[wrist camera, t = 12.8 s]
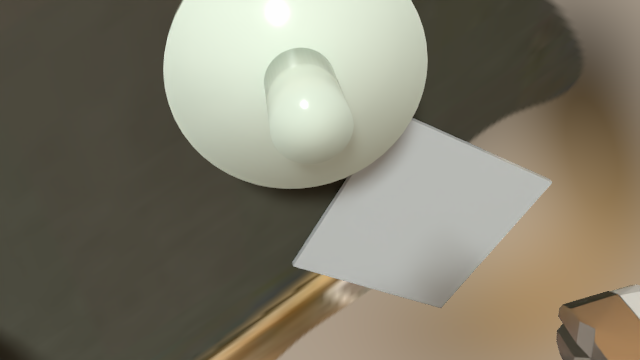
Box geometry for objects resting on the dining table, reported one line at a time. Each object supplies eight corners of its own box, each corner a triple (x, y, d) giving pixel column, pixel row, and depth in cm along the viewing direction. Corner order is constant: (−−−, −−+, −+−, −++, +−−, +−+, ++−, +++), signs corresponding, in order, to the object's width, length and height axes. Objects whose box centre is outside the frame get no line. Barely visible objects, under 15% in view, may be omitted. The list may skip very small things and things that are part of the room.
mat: (439, 304, 41) (441, 308, 41) (292, 262, 36) (292, 266, 36) (549, 178, 35) (552, 182, 35) (391, 108, 30) (393, 111, 30)
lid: (389, 178, 27) (419, 246, 23) (168, 170, 25) (156, 243, 21) (448, -48, 21) (504, -13, 17) (163, -86, 19) (144, -56, 14)
